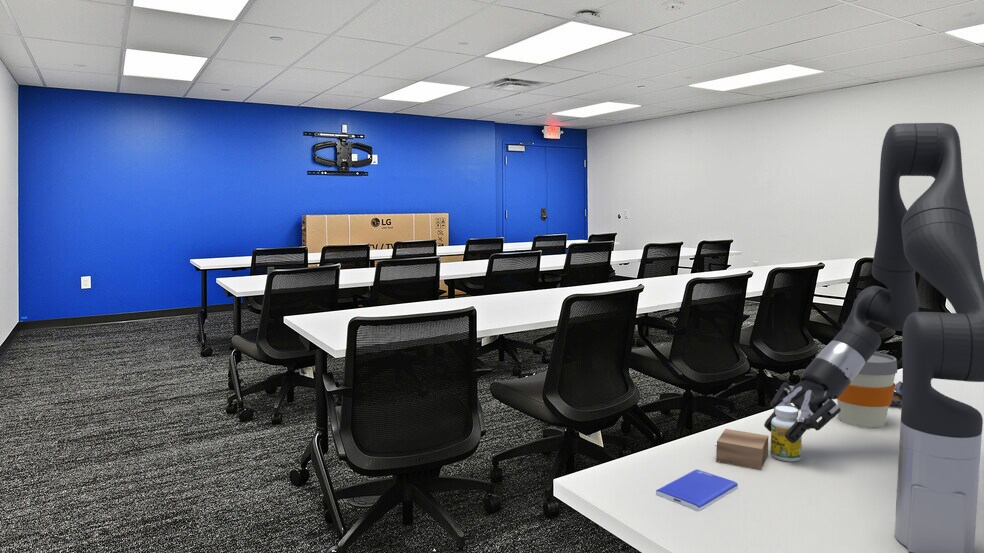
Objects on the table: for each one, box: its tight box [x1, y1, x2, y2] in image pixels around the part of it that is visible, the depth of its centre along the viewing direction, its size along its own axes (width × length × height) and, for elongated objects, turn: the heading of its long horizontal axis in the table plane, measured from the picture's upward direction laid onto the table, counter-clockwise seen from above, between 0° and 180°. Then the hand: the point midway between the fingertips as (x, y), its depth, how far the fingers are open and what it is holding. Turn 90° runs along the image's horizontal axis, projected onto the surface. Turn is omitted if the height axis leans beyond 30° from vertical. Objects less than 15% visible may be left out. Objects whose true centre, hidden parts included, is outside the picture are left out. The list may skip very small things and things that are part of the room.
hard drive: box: [655, 469, 739, 512], centre depth 105 cm, size 2×8×12 cm
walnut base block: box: [715, 428, 769, 471], centre depth 119 cm, size 8×8×4 cm
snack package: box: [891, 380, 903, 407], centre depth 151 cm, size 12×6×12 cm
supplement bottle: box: [770, 406, 803, 463], centre depth 119 cm, size 5×5×10 cm
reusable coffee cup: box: [836, 351, 898, 429], centre depth 139 cm, size 13×13×15 cm
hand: (778, 434), depth 119 cm, fingers closed on supplement bottle, 5 cm apart
